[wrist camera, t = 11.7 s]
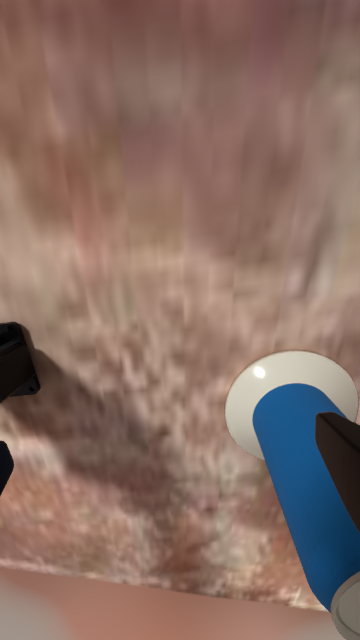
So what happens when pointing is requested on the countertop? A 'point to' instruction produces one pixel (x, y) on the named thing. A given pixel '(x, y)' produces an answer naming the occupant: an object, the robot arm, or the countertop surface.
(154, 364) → the countertop surface
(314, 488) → the beverage can
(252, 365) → the white round disc
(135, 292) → the countertop surface
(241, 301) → the countertop surface
